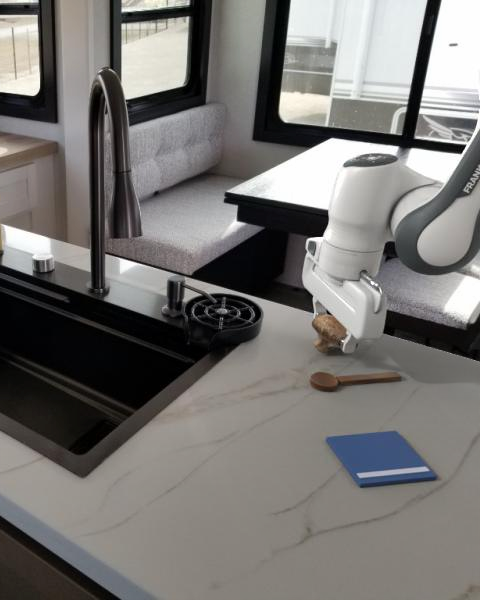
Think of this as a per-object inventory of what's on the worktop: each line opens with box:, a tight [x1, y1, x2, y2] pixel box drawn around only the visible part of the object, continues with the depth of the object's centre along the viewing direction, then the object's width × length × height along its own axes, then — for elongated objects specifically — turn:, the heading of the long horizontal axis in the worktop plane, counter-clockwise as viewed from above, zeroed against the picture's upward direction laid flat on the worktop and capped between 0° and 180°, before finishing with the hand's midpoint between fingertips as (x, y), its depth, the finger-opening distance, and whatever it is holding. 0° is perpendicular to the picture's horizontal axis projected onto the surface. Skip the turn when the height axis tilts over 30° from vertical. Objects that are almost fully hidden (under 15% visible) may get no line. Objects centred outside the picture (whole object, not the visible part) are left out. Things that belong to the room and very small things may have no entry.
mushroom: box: [311, 314, 359, 354], centre depth 105 cm, size 8×8×6 cm
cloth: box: [325, 430, 438, 488], centre depth 82 cm, size 10×9×1 cm
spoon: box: [309, 371, 402, 393], centre depth 98 cm, size 14×4×1 cm, turn 97°
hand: (332, 335), depth 105 cm, fingers closed on mushroom, 8 cm apart
